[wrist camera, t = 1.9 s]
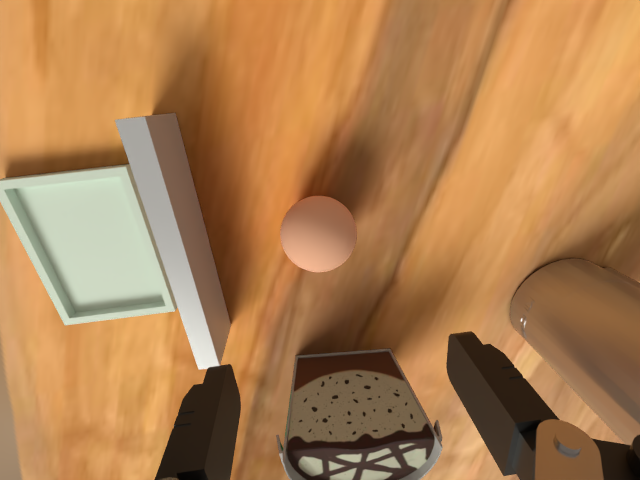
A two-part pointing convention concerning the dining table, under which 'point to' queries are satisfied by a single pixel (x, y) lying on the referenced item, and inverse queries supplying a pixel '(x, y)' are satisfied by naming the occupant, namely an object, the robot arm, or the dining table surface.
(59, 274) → the sage tray
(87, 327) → the dining table surface
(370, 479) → the food container
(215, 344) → the low wall
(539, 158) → the dining table surface
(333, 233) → the ball
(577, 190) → the dining table surface
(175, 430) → the robot arm
